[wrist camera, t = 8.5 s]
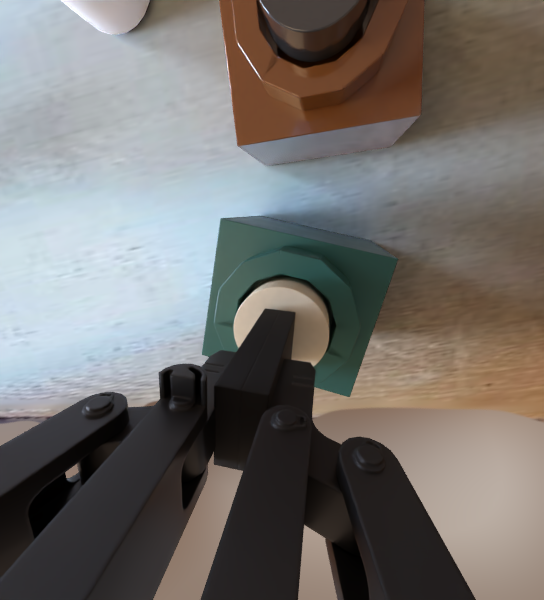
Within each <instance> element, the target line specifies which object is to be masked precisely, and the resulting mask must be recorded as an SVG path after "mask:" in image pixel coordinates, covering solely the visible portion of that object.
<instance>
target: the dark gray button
mask: <svg viewBox="0 0 544 600" xmlns="http://www.w3.org/2000/svg"><path fill="white" fill-rule="evenodd" d="M370 1H371V0H259V3H260V6H261V9H262V12H263V15H264V18H265V21H266V24H267V27H268V30H269V32H270V35H271V37H272V39H273V40H274V42H275V43H276V45H277V46H278V47H279V48H280V49H281V50H282V52H284V53H285V54H286V55H288V56H289V57H291V58H293V59H295V60H298V61H302V62H318V61H322V60H326V59H328V58H330V57H332V56H334V55H336V54H337V53H339V52H340V51H341V50H343V49H344V48H345V47H346V46H347V45H348V44H349V43H350V42H351V41H352V40H353V38H354V37H355V36H356V34H357V33H358V31H359V30H360V28H361V26H362V24H363V22H364V20H365V18H366V15H367V12H368V9H369V5H370Z"/></svg>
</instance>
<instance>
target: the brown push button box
mask: <svg viewBox="0 0 544 600" xmlns="http://www.w3.org/2000/svg"><path fill="white" fill-rule="evenodd" d="M219 4H220V12H221V20H222V28H223V36H224V43H225V51H226V59H227V67H228V75H229V83H230V91H231V98H232V106H233V114H234V122H235V130H236V138H237V145H238V147H240V148H241V149H242V150H244V151H245V152H247V153H248V154H249V155H251V156H252V157H254V158H255V159H256V160H258V161H259V162H261V163H262V164H263V165H265V166H270V165H277V164H284V163H290V162H297V161H303V160H310V159H316V158H323V157H330V156H336V155H343V154H349V153H356V152H363V151H369V150H376V149H382V148H389V147H391V146H392V145H393V144H394V143H395V142H396V140H397V139H398V138H399V137H400V136H401V135H402V134H403V133H404V132H405V131H406V130H407V129H408V128H409V127H410V126H411V125H412V124H413V123H414V122H415V121H416V120H417V119H418V117H419V116H420V115H421V106H422V73H423V40H424V7H425V0H371V1H370V5H369V9H368V12H367V15H366V18H365V20H364V22H363V24H362V26H361V28H360V30H359V31H358V33H357V34H356V36H355V37H354V38H353V40H352V41H351V42H350V43H349V44H348V45H347V46H346V47H345V48H344V49H343V50H341V51H340V52H339V53H337V54H336V55H334V56H332V57H330V58H328V59H326V60H322V61H318V62H302V61H298V60H295V59H293V58H291V57H289V56H288V55H286V54H285V53H284V52H282V50H281V49H280V48H279V47H278V46H277V45H276V43H275V42H274V40H273V39H272V37H271V35H270V32H269V30H268V27H267V24H266V21H265V18H264V15H263V12H262V9H261V6H260V3H259V0H219Z"/></svg>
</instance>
